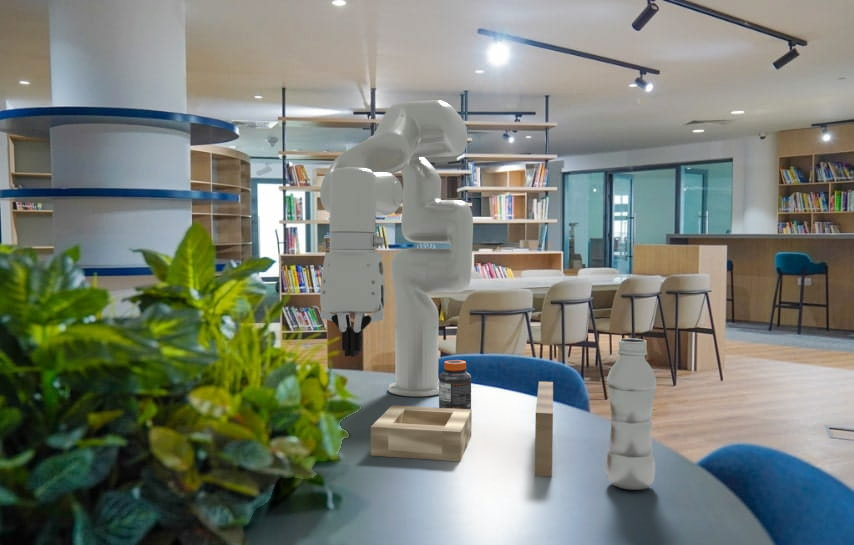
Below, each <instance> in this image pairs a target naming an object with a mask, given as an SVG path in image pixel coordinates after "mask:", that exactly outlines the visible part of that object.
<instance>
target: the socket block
mask: <svg viewBox="0 0 854 545" xmlns="http://www.w3.org/2000/svg"><path fill="white" fill-rule="evenodd" d="M472 412H473V410H472V408H471V409H453V408H439V407H430V406H429V407H427V406H412V405H411V406H410V405H390V407H388V409H387V410H386V411H385V412H384V413H383V414H381V416H380V417H379V418H378V419H377V420H376V421H375V422H373V424H372V425H371V426H370V456H371V457H372V456H373V457H388V458H389V457H390V458H402V459H418V460H419V459H420V460H431V461H432V460H433V461H434V460H436V461H449V462H461V461H462V459H463V456H464V455H465V451H466V450H467V447H468V445H469V442H470V439H471V438H472V426H473V425H472V424H473V423H472V419H473V418H472Z"/></svg>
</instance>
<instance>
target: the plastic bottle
mask: <svg viewBox="0 0 854 545" xmlns="http://www.w3.org/2000/svg"><path fill="white" fill-rule="evenodd" d="M647 344H648V343H647V340H645V339H641V338H640V339H639V338H619V340H618V349H617V354H619V356H618V359H616V362H615V363H613V365H612V367H611V368H610V370H609V371H608V375H607V377H606V380H607V390H608V391H607V392H608V397H609V406H610V408H609V409H610V434H609V445H608V450H607V454H606V461H605V472H606V478H607V479H608V481H609V482H610V483H611V484H612V485H613V486H615V487H617V488H620V489H625V490H637V491H638V490H645V489H648V488H650V487H651V485H652V484H653V483H654V480H655V474H656V464H655V457H654V453H653V441H652V439H653V438H652V436H653V435H652V419H653V408H654V401H655V397H656V388H657V379H656V378H657V377H656V374H655V372H654V370H653V369H652V367H651V365H650V364H649V362H648V361H647V359H646V357H645V356H647V355H648V350H647V346H648V345H647Z"/></svg>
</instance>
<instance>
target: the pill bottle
mask: <svg viewBox="0 0 854 545" xmlns="http://www.w3.org/2000/svg"><path fill="white" fill-rule="evenodd" d="M443 364H444V365H443V368H444V371H443V372H441V373H440V374H439V375H438V382H439V394H438V408H453V409H472V376H471V374H470V373H468V372H467V370H466V369H467V362H466V361H465V360H460V359H453V360H452V359H450V360H445V361H444V363H443Z"/></svg>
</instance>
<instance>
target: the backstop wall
mask: <svg viewBox="0 0 854 545" xmlns="http://www.w3.org/2000/svg"><path fill="white" fill-rule="evenodd" d="M553 423H554V382H553V381H538V387H537V396H536V406H535V429H534V430H535V431H534V432H535V436H534V437H535V438H534V441H535V442H534V445H535V446H534V449H535V450H534V476H538V477H553V436H554V434H553V432H554V431H553V427H554V425H553Z"/></svg>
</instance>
